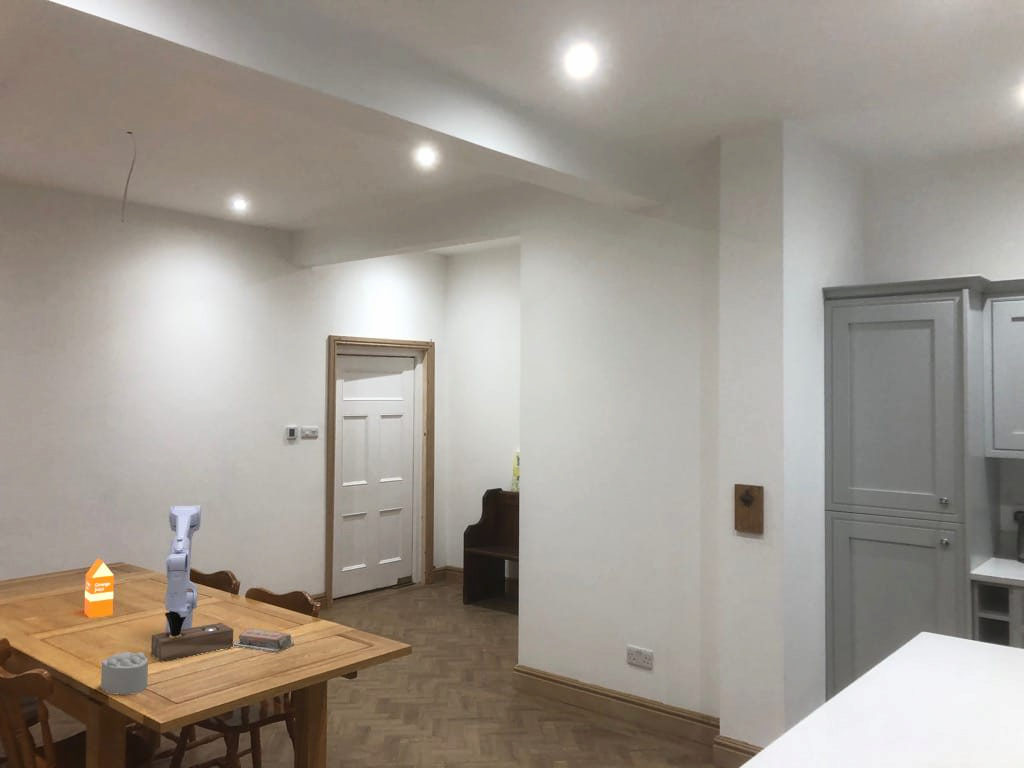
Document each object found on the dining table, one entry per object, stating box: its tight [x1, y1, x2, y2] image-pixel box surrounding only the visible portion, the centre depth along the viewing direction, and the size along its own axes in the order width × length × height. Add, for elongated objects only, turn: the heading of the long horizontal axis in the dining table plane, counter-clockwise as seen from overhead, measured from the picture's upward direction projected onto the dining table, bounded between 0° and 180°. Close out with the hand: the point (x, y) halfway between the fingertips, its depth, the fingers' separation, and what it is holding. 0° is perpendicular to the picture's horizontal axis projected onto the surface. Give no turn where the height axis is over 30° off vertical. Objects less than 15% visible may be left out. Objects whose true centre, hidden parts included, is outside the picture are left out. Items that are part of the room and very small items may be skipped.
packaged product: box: [233, 628, 295, 653], centre depth 252 cm, size 18×5×10 cm
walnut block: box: [150, 622, 234, 662], centre depth 245 cm, size 10×22×6 cm, turn 132°
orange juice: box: [84, 558, 115, 619], centre depth 286 cm, size 8×9×20 cm
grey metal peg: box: [205, 627, 216, 632], centre depth 248 cm, size 4×4×6 cm
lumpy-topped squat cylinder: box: [100, 651, 149, 695], centre depth 212 cm, size 10×13×9 cm
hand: (175, 635), depth 241 cm, fingers closed, pressing on brass peg
